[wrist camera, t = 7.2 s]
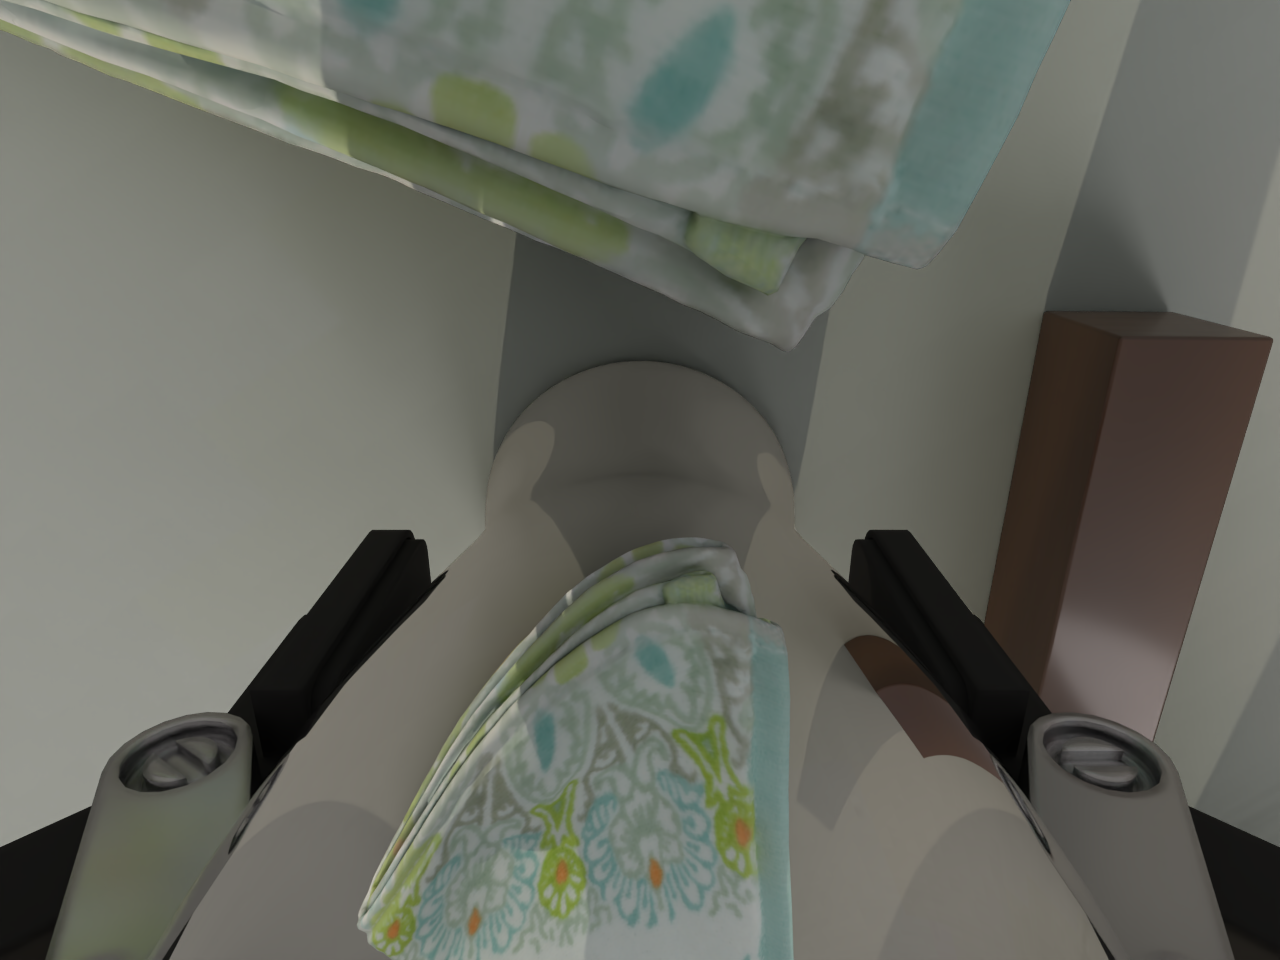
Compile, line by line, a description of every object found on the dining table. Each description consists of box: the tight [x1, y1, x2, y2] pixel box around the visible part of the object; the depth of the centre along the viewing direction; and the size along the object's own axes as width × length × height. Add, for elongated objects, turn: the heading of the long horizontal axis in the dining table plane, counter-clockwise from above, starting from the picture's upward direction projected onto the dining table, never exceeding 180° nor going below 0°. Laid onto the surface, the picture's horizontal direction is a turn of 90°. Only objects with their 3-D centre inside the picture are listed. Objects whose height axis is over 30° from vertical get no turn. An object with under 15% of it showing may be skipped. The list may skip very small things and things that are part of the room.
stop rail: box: [984, 311, 1273, 742], centre depth 15 cm, size 2×10×2 cm, turn 0°
